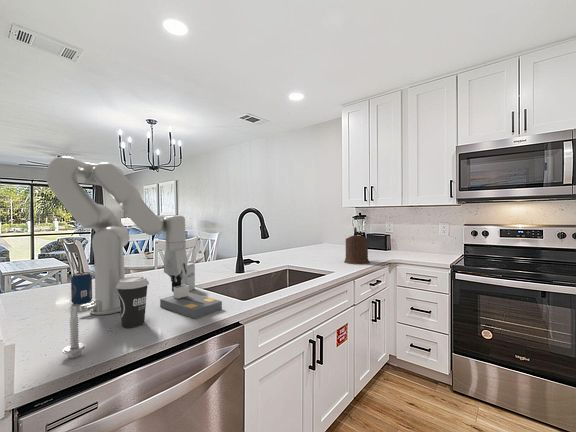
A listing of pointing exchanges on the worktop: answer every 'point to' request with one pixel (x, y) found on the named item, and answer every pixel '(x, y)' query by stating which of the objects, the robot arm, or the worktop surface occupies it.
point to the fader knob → (181, 291)
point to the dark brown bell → (356, 249)
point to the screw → (74, 337)
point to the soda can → (81, 288)
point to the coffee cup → (132, 300)
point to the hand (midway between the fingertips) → (176, 291)
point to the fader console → (191, 305)
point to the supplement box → (189, 276)
